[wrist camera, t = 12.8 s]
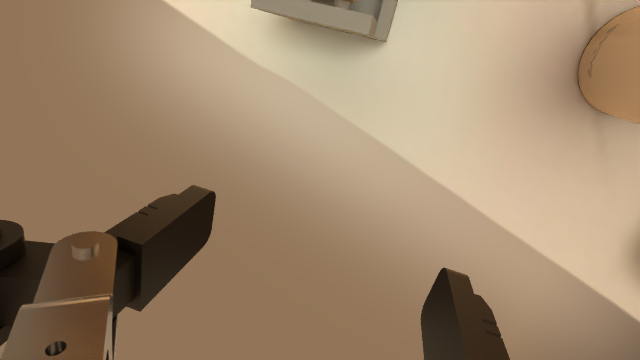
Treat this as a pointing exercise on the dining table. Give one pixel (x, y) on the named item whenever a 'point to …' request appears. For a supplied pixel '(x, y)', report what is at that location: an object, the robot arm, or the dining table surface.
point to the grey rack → (337, 14)
